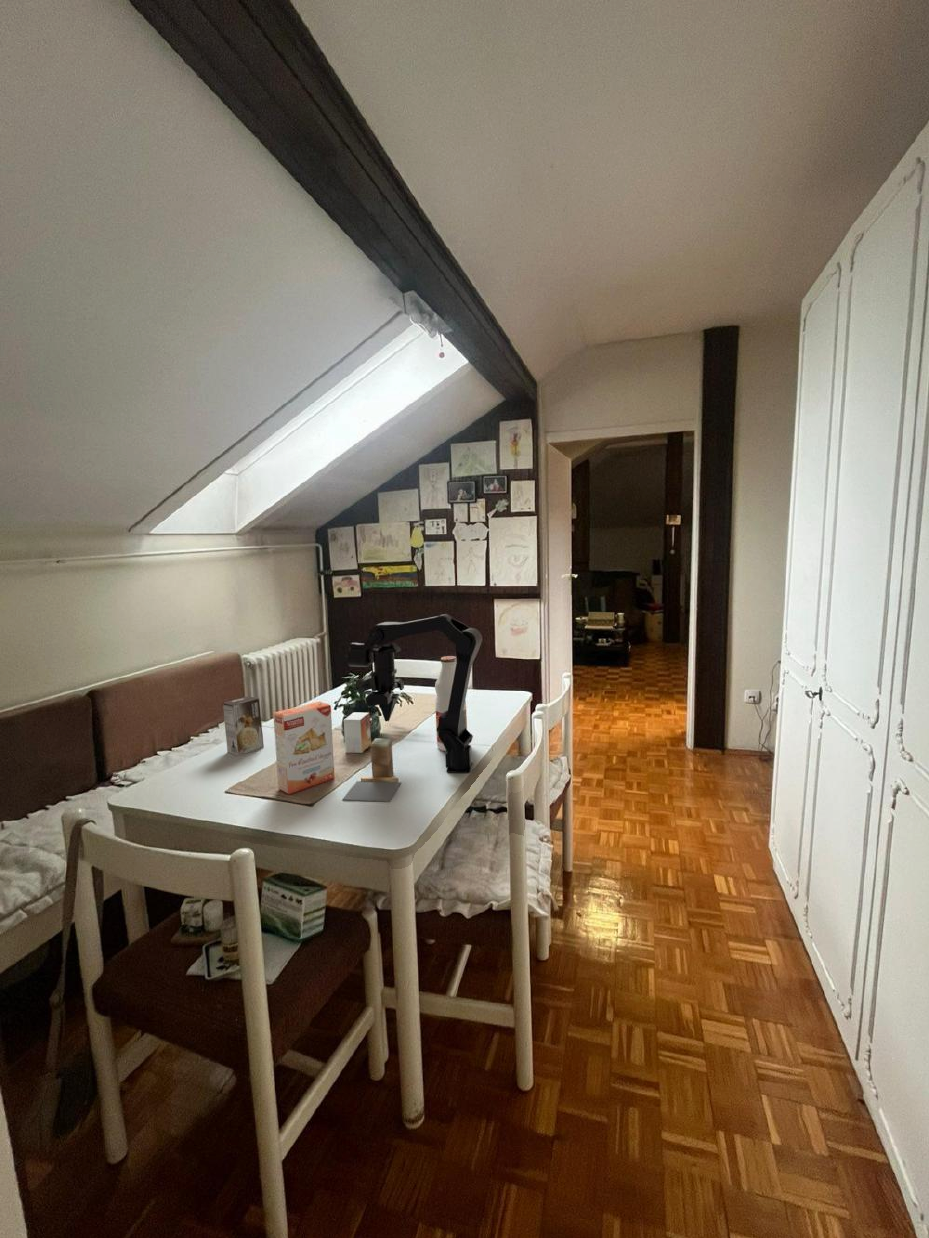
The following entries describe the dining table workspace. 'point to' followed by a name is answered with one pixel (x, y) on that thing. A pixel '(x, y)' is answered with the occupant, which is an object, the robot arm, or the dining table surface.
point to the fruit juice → (445, 691)
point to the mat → (372, 791)
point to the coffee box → (243, 725)
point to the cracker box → (303, 746)
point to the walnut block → (382, 758)
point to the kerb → (379, 779)
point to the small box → (357, 732)
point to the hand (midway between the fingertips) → (387, 720)
